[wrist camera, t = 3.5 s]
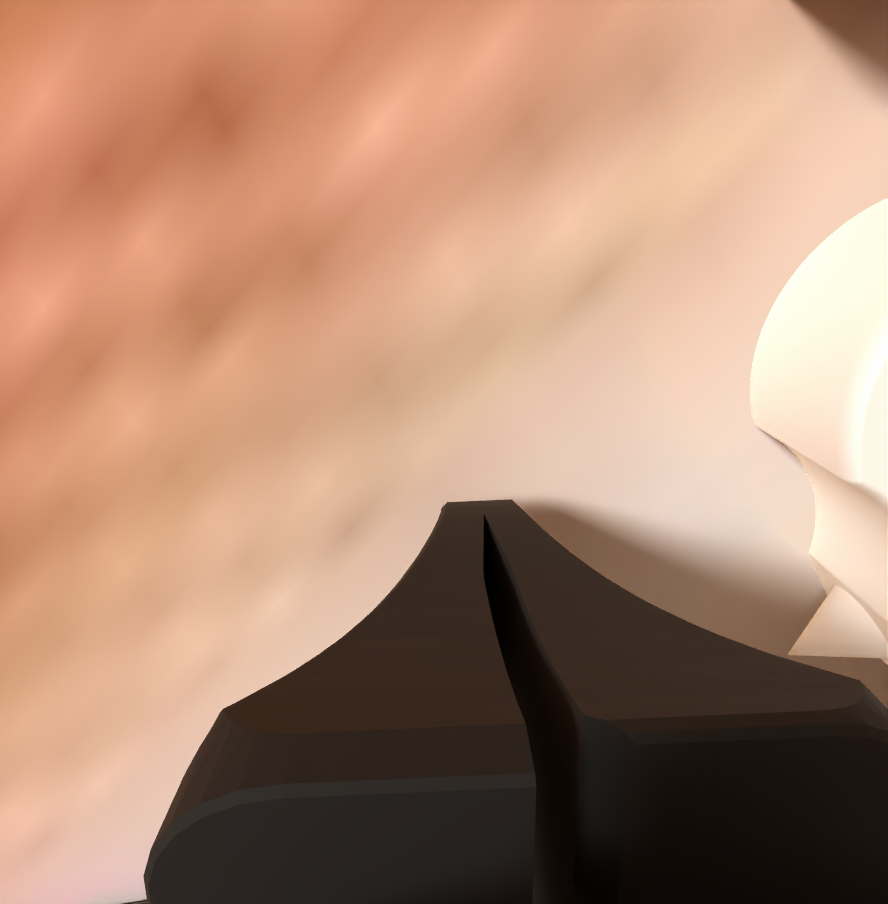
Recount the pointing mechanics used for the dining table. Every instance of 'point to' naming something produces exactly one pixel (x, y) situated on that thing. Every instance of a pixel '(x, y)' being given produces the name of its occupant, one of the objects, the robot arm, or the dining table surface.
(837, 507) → the white brass knuckles
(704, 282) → the dining table surface
